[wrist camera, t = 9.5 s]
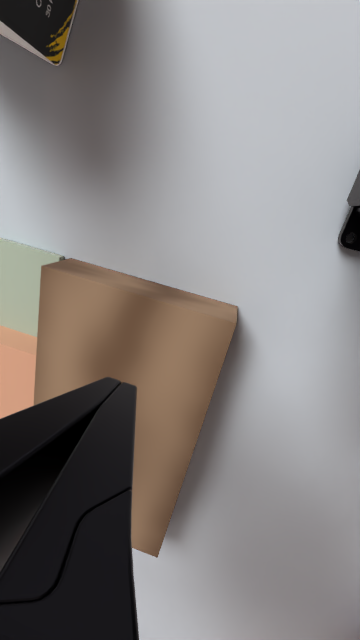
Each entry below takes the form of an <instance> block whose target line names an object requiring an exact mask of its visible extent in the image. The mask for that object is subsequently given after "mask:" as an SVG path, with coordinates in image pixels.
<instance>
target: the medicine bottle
mask: <svg viewBox="0 0 360 640" xmlns="http://www.w3.org/2000/svg"><path fill="white" fill-rule="evenodd" d="M78 1H79V0H0V34H1V35H3V36H4V37H6V38H8V39H10V40H11V41H13V42H15V43H16V44H18V45H20V46H22V47H23V48H25V49H27V50H28V51H30V52H32V53H33V54H35V55H37V56H39V57H40V58H42V59H44V60H45V61H47V62H49V63H51V64H52V65H56V66H58V65H60V64H61V62H62V59H63V56H64V52H65V48H66V45H67V41H68V37H69V34H70V30H71V26H72V23H73V19H74V15H75V12H76V8H77V4H78Z"/></svg>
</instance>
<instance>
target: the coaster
mask: <svg viewBox="0 0 360 640" xmlns="http://www.w3.org/2000/svg"><path fill="white" fill-rule="evenodd" d="M36 351H37V337H35V336H32V335H29V334H26V333H22V332H19V331H16V330H13V329H10V328H7V327H4V326H1V325H0V419H1V418H3V417H6V416H8V415H11V414H13V413H16V412H18V411H21V410H23V409H26V408H29V407H31V406H33V405H34V387H35V369H36Z"/></svg>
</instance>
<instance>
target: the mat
mask: <svg viewBox="0 0 360 640" xmlns="http://www.w3.org/2000/svg"><path fill="white" fill-rule="evenodd" d="M62 260H64V256H61V255H58V254H55V253H51V252H48V251H44V250H41V249H37V248H34V247H30V246H27V245H23V244H20V243H17V242H13V241H10V240H6V239H3V238H0V325H1V326H4V327H7V328H10V329H13V330H16V331H19V332H22V333H26V334H29V335H32V336H35V337H37V332H38V314H39V296H40V278H41V266H42V265H46V264H50V263H54V262H58V261H62Z"/></svg>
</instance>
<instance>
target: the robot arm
mask: <svg viewBox="0 0 360 640" xmlns="http://www.w3.org/2000/svg"><path fill="white" fill-rule="evenodd" d="M347 201H348V204H349V206H351V208H350V210H349V213H348V215H347V217H346V220H345V222H344V224H343V227H342V229H341V231H340V234H339V237H338V242H339V244H340V245H341V246H343V247H345V248H349V249H352V250H356V251H360V171H359V173H358V175H357V178H356V180H355V182H354V185H353V187H352V190H351V192H350V194H349V197H348V199H347ZM350 233H352V234H353V235H354V239H353V240H352V241H351V242H349V243H348V242H346V236H347V235H348V234H350ZM136 401H137V387H136V386H135V385H132V384H129V383H126V382H121V381H120V380H117V379H114V378H111V377H105V378H102V379H100V380H97V381H95V382H92V383H90V384H87V385H85V386H82V387H80V388H77V389H74V390H72V391H69V392H67V393H64V394H62V395H59V396H57V397H54V398H51V399H49V400H46V401H44V402H41V403H39V404H36V405H34V406H31V407H29V408H26V409H23V410H21V411H18V412H16V413H13V414H11V415H8V416H6V417H3V418H1V419H0V640H139V633H138V622H137V610H136V599H135V587H134V576H133V559H132V541H131V522H132V488H133V466H134V444H135V423H136Z"/></svg>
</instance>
